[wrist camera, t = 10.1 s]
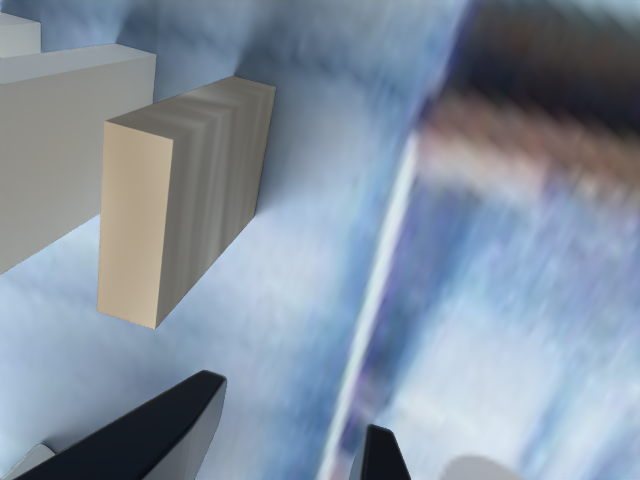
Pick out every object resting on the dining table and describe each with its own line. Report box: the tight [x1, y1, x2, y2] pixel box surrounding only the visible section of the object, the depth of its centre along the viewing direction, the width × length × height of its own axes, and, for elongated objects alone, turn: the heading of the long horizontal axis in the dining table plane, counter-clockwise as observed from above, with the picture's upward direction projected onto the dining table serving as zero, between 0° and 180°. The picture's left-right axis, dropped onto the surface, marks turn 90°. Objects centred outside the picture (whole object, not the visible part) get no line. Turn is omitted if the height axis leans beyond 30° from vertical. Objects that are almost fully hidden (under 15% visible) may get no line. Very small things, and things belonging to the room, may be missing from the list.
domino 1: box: [0, 43, 157, 275], centre depth 17 cm, size 2×5×8 cm, turn 168°
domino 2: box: [97, 76, 276, 329], centre depth 16 cm, size 2×5×8 cm, turn 168°
